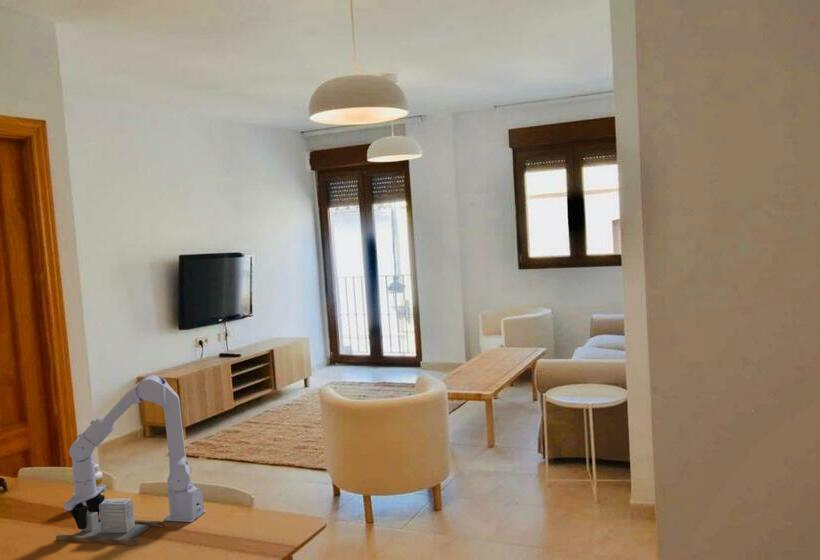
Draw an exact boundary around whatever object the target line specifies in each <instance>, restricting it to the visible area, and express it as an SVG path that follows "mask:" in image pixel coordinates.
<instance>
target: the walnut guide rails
mask: <svg viewBox="0 0 820 560" xmlns="http://www.w3.org/2000/svg"><path fill="white" fill-rule="evenodd" d="M98 522H100V517H98ZM134 522H135V524H141V525H149V527H151V526H162V527H164V521H160V520H142V519H141V520H140V519H134ZM55 541H65V542H79V543H80V542H81V543H94V544H95V543H96V544H110V545H123V546H124V545H127V546H136V545H138V543H139V542H138V541H139V540H138V539H136V538H133V539H123V538H107V537H92V536H76V535H75V534H73V535H71V534H57V535H56V536H55Z"/></svg>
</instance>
